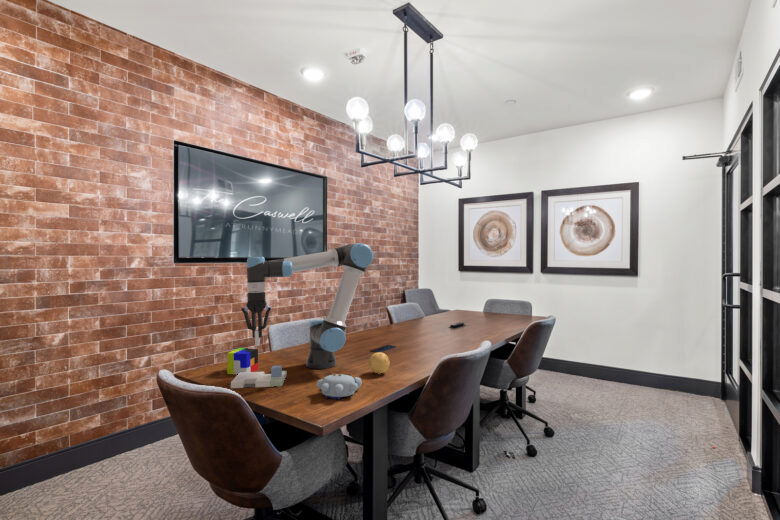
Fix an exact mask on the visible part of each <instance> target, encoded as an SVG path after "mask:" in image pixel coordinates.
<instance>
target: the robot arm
mask: <svg viewBox="0 0 780 520" xmlns="http://www.w3.org/2000/svg"><path fill="white" fill-rule="evenodd" d="M373 253H374V252H373V250H372V248H371V247H370V246H369V245H367V244H365V243H361V242H358V243H349V244H346V245H342V246H338V247H335V248H332V249H331V250H329V251H328V250H327V251H323V252H321V251H320V252H316V253H310V254H309V253H308V254H305V255H298V256H291V257H285V258H279V259H272V260H266V259H265V257H264V256H249V257H247V259H246V290H247V294H246V295H247V300H246V301H247V303H246V306H243V307H242V308H241V310H240V311H241V312H242V313H243V315H244V320H245V323H246V327H247V329H248V330H251V331H252V332H251V333H252V338H254V346H255V347H256V346H257V347H258V346H260V345H261V338H262V337H263V330H264V329H266V328H267V325H268V321H269V317H270V312H271V311H272V310H273V307H272V306H269V305H268V304H267V301H266V292H265V291H266V279H267V278H268V279H269V278H289V277H290V278H291V276H292V275H293V273H297V272H303V271H310V270H314V269H320V268H326V267H331V266H334V267H335V268H336V267H342V268H343V272H342V275H341V279H340V281H339V283H338V287H337V290H336V293H335V295H334V299H333V300H332V301H333V302H332V303H331V306H330V309H329V313H328V316H327V317H325V318H323V319H319V320H318V319H317V320H311V321H310V322H309V352H308V355H307V358H306V360H305V361H306V363H305V365H306V368H309V369H316V370H321V369H329V368H333V367H335V366H337V359H336V356H335V352H337V351H339V350H341V349H342V348H343V346H345V343H346V330H347V324H346V320H347V316H348V314H349V311H350V307H351V306H352V303H353V299H354V296H355V293H356V290H357V287H358V284H359V281H360V279H361V276H362V275H364V274H365V273H366V270H367V267H369V266H370V265H371V264H372V263H373V260H374V254H373ZM248 310H249V311H250V312H251V318H250V315H249V312H248ZM264 310H265V314H264V319H263V312H264Z"/></svg>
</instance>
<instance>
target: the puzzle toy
mask: <svg viewBox="0 0 780 520" xmlns="http://www.w3.org/2000/svg"><path fill="white" fill-rule="evenodd" d="M258 349H259V348H249V347H248V348H245V347H239V348H236V349H234V350H231V351H229V352H227V353H226V354H227V355H226V357H227V358H226V359H227V364H226V365H227V369H226V372H227V373H226V374H227V375H237V374H239V373H240V372H256V371H257V370H258V369H259V350H258Z"/></svg>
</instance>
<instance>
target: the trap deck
mask: <svg viewBox="0 0 780 520" xmlns="http://www.w3.org/2000/svg"><path fill="white" fill-rule="evenodd" d="M287 375H288V374H287V370H282V375H281V377H271V373H265V371H253V372H240V373H239V374H238V375H237V374H236V375H235V377H234V378H233V379H232V380H231V382H230V389H246V388H247V387H250V388H268V387H269V388H270V387H271V388H272V387H273V388H274V386H277V387H283V385H284V382H285V381H286V379H285V378H287ZM284 380H285V381H284Z"/></svg>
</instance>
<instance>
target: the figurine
mask: <svg viewBox="0 0 780 520" xmlns="http://www.w3.org/2000/svg"><path fill="white" fill-rule="evenodd" d="M361 386H362V378H360V377H359V376H358V377H357V376H355V377H353V376H352V375H350V374H345V373H344V374H342V373H339V374H337V373H333V374H330V375H326V376H325V377H324V378H322V379H319V380H317V382H316V387H317V388H318V389H321V394H322V395H324V396H325V399H326V398H328V397H329V399H334V398H335V400H336V399H337V398H338V399H339V400H340V399H342V398H343V397H344V398H345V397H350V396H352V395H354V394H355V392H356V391H358V388H360V387H361Z"/></svg>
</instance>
